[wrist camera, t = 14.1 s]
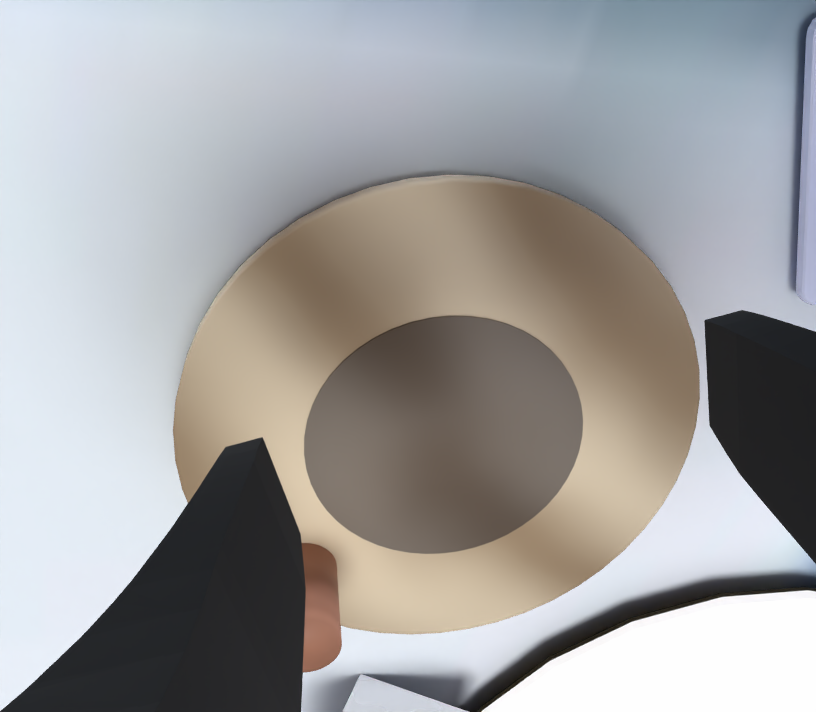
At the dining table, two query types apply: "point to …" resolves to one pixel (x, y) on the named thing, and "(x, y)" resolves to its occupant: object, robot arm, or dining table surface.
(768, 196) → the dining table surface
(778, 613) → the plate
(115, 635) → the robot arm
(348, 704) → the grey block
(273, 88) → the dining table surface
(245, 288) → the turntable
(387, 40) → the dining table surface
